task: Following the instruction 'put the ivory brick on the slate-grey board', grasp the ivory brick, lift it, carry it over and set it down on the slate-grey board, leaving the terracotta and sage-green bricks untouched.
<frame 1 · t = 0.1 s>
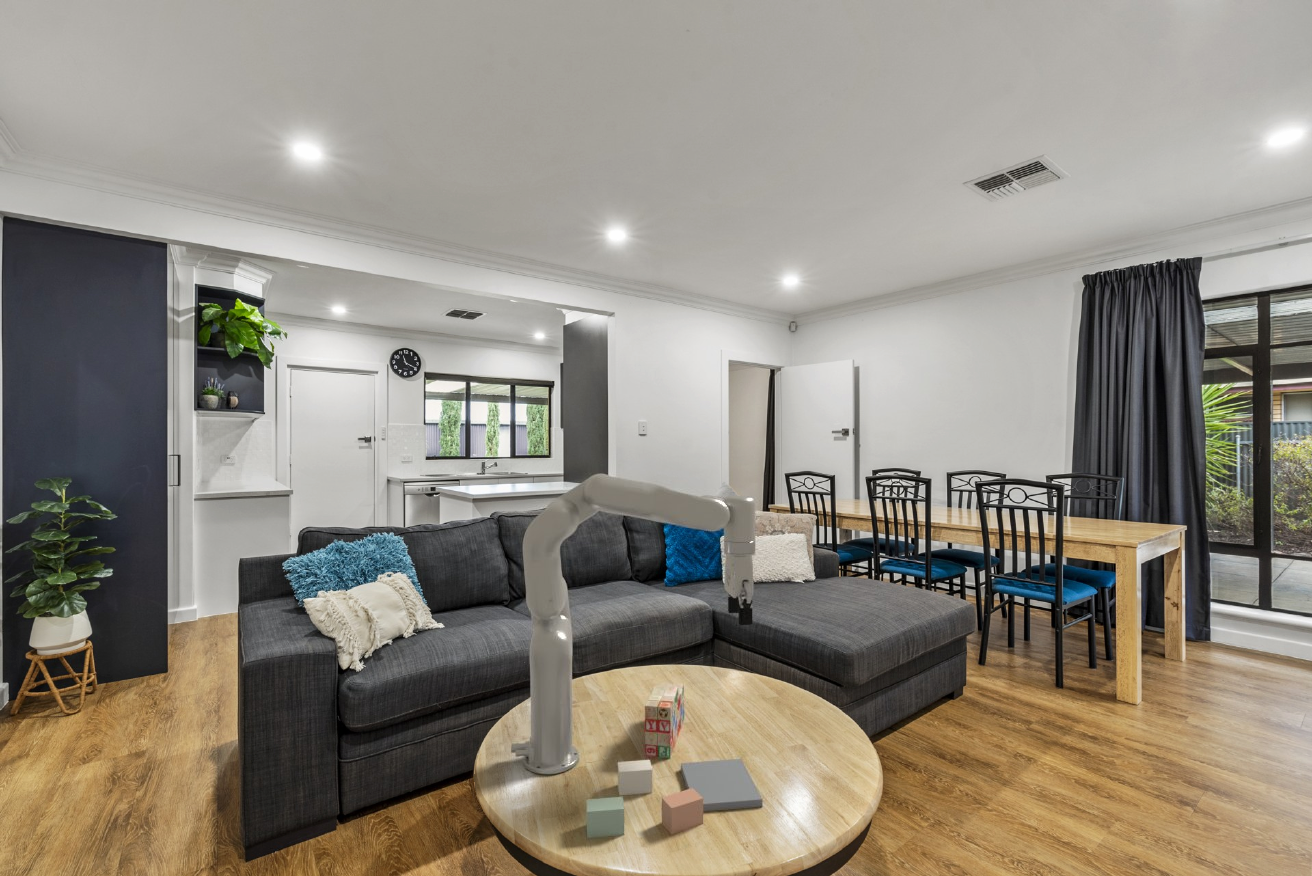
hand: (739, 618, 150), 31 cm above the table, fingers open, 9 cm apart
terracotta brick: (682, 823, 120), on the table
stack of blocks: (665, 737, 155), on the table
sage brick: (605, 830, 118), on the table
ivory brick: (634, 789, 132), on the table
slate board: (719, 787, 133), on the table
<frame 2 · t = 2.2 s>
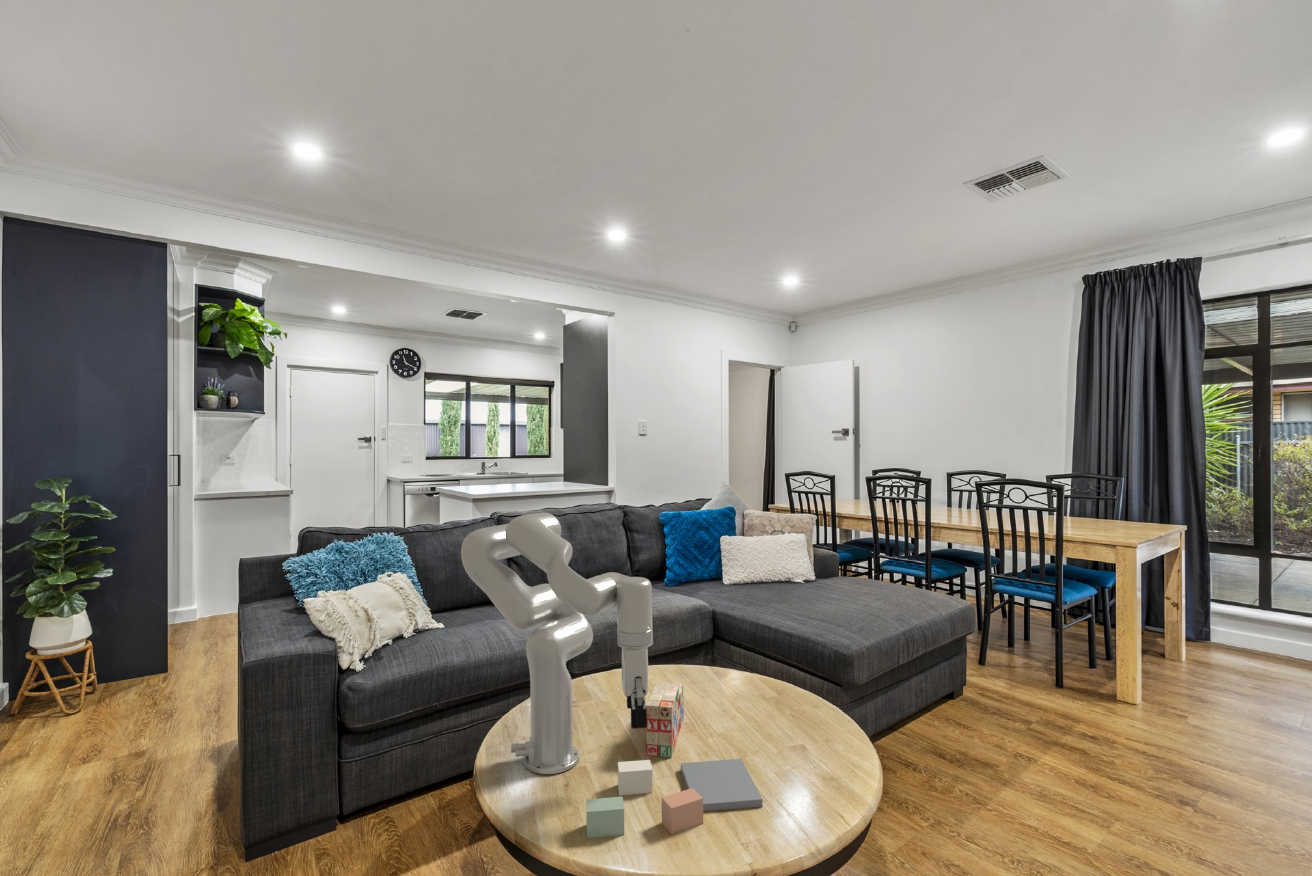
hand: (636, 717, 132), 15 cm above the table, fingers open, 9 cm apart
nothing on the table moved.
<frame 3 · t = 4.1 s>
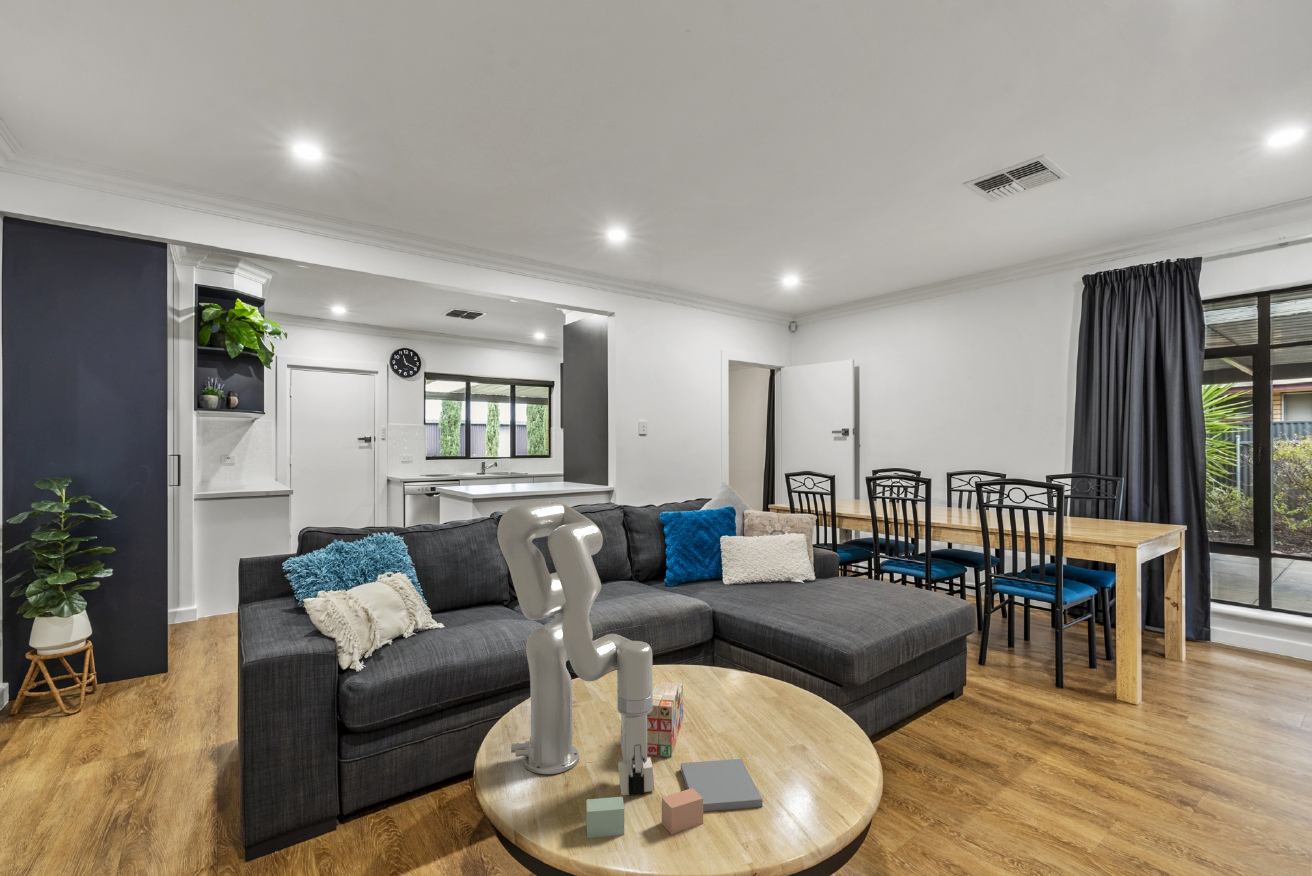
hand: (635, 787, 132), 0 cm above the table, fingers closed on ivory brick, 3 cm apart
ivory brick: (637, 787, 132), on the table, touching gripper
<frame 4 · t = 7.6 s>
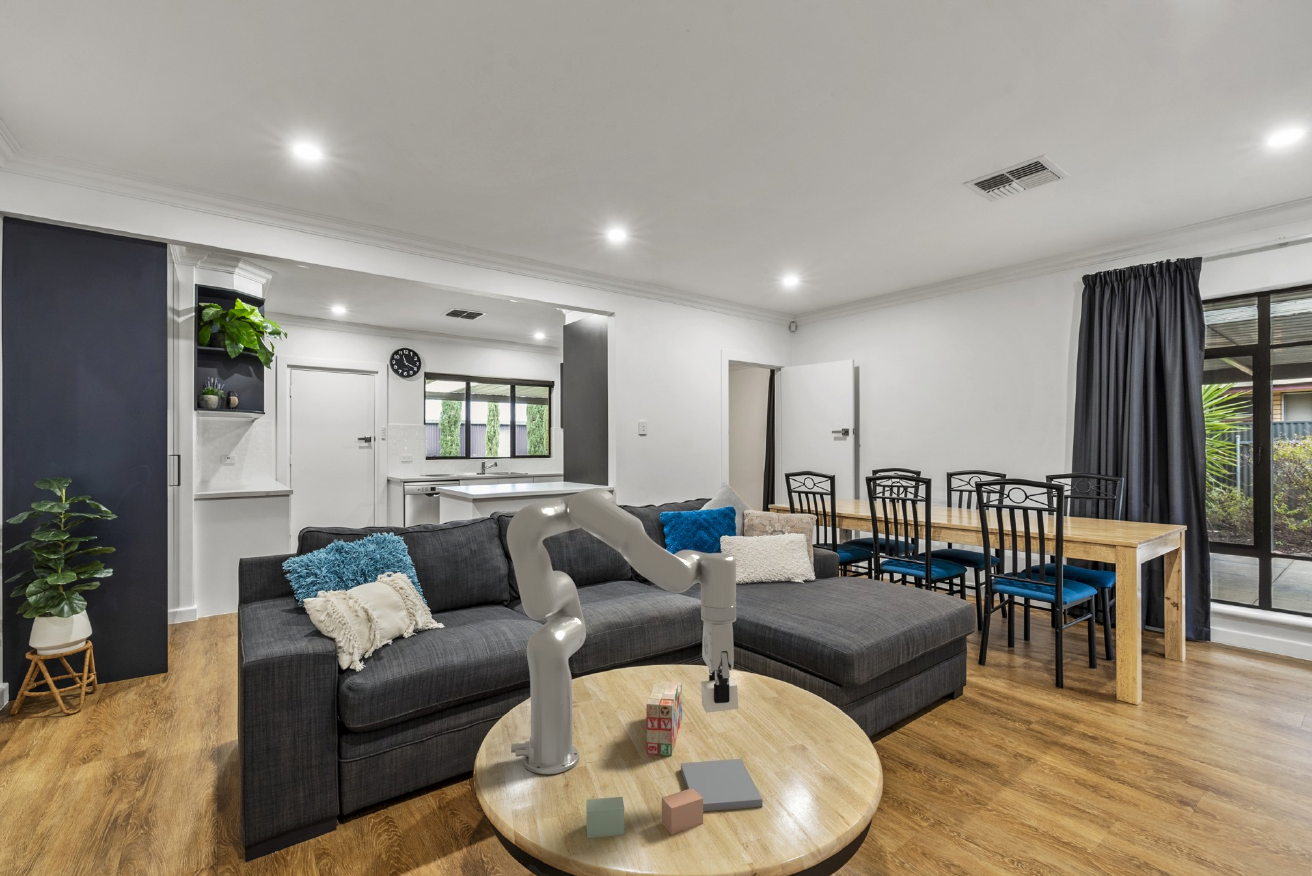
hand: (719, 696, 133), 19 cm above the table, fingers closed on ivory brick, 4 cm apart
ivory brick: (720, 706, 133), point 17 cm above the table, touching gripper
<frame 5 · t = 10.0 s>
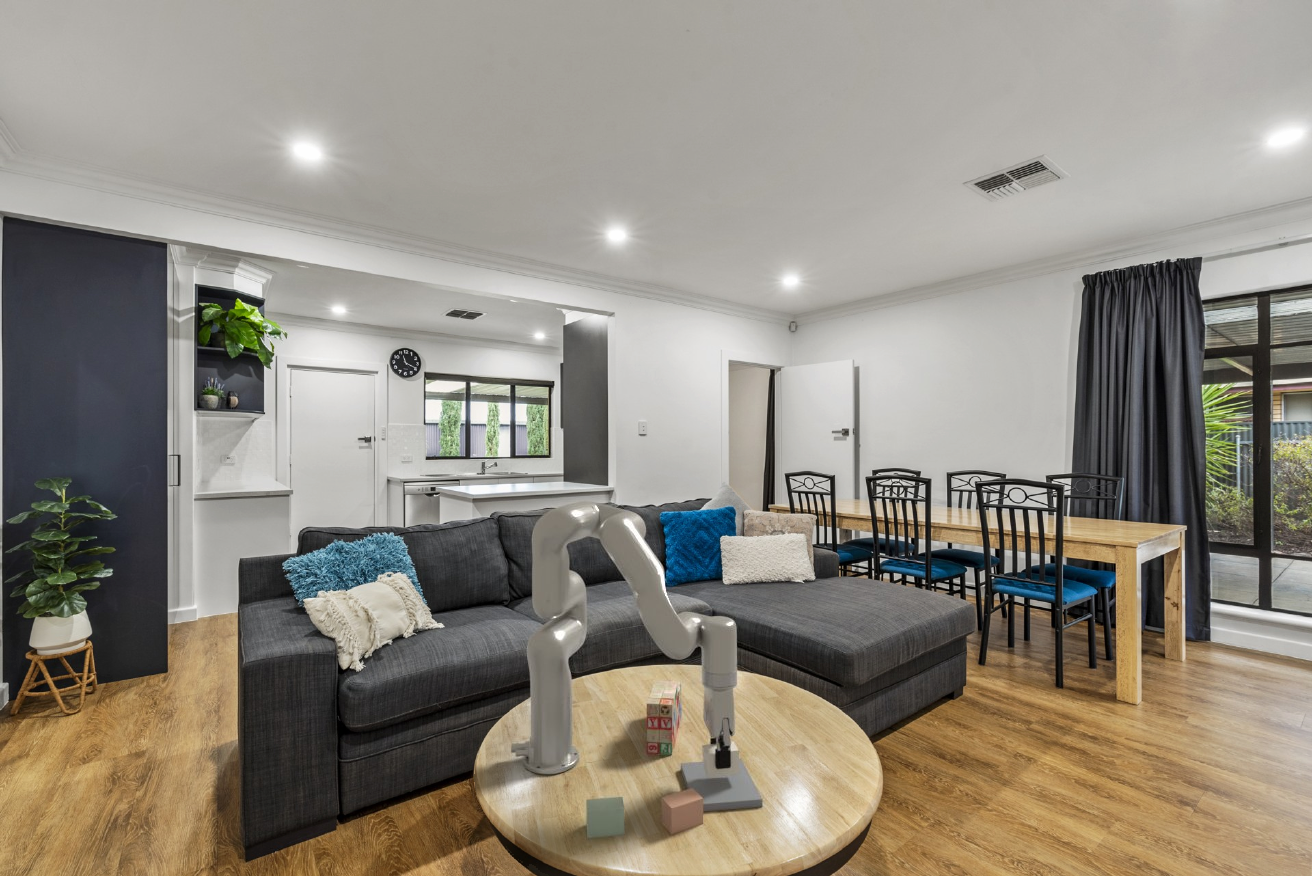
hand: (720, 761, 133), 6 cm above the table, fingers closed on ivory brick, 4 cm apart
ivory brick: (721, 770, 133), point 3 cm above the table, touching gripper
when the fingers open (4 cm above the table, at t = 11.3 s): ivory brick stays where it is, resting on slate board.
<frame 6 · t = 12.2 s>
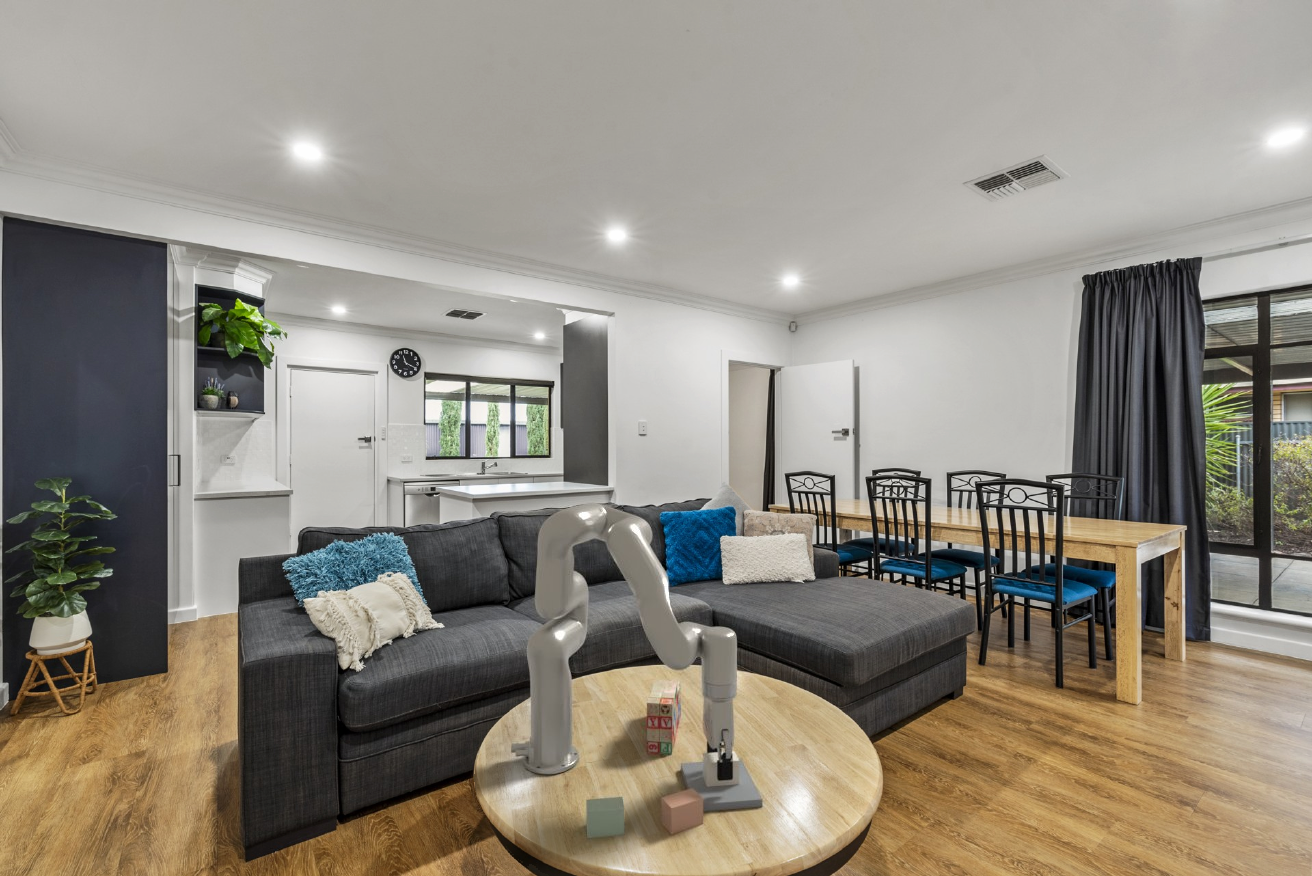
hand: (719, 767, 133), 4 cm above the table, fingers open, 9 cm apart
ivory brick: (721, 780, 133), point 1 cm above the table, touching slate board
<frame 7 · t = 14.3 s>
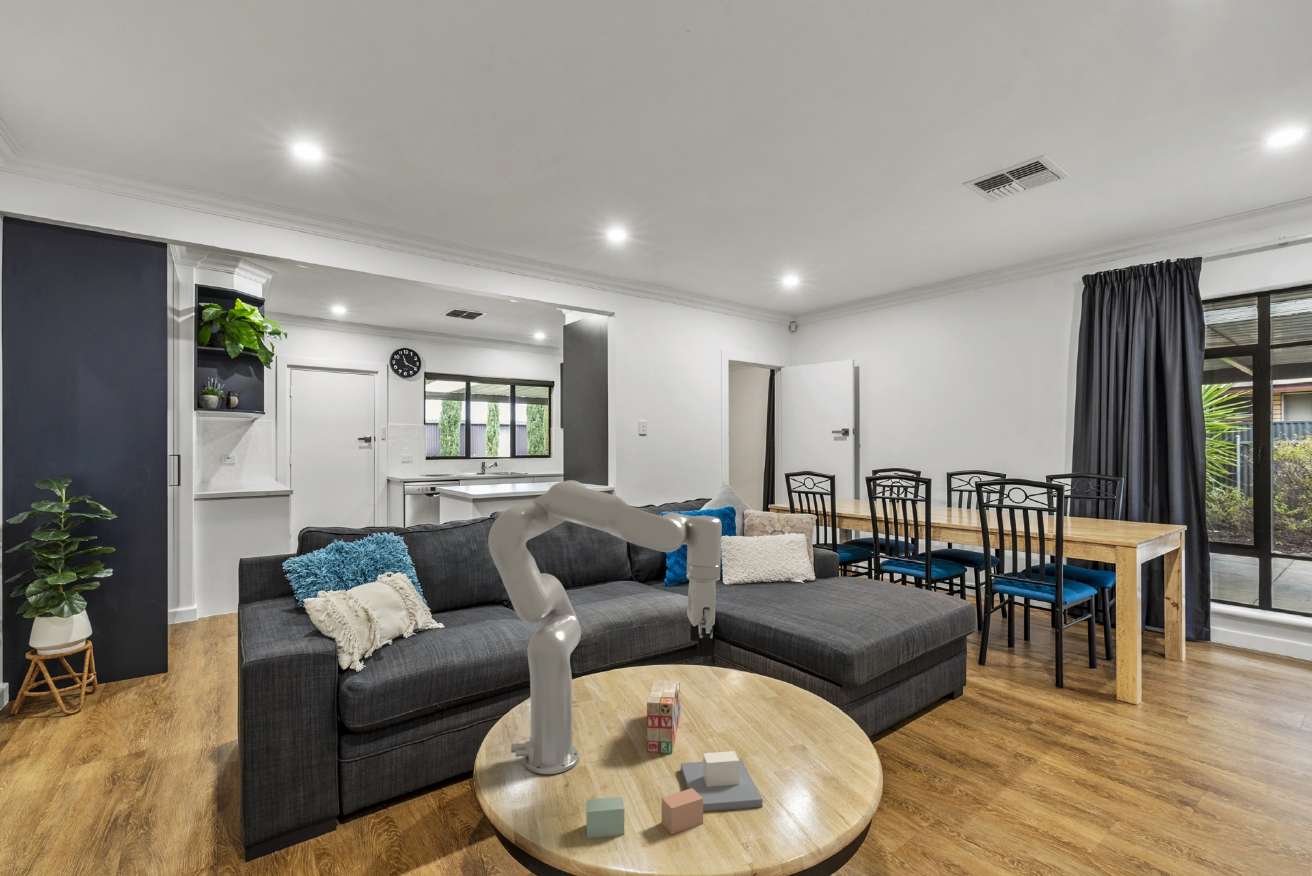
hand: (700, 647, 139), 28 cm above the table, fingers open, 9 cm apart
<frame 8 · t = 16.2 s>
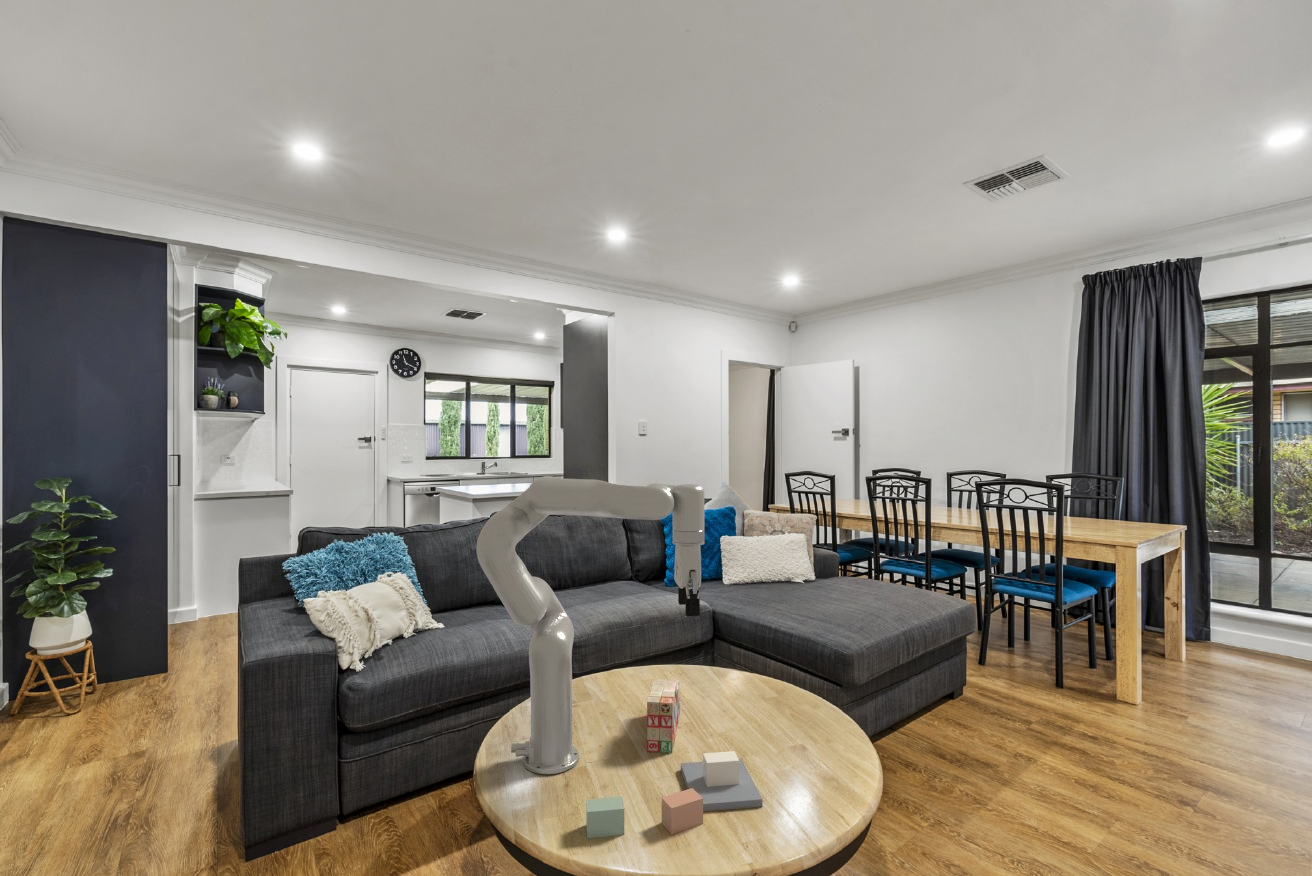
hand: (688, 609, 146), 34 cm above the table, fingers open, 9 cm apart
at the end: ivory brick inside the target area on the slate board (0.3 cm from its centre), point 1.5 cm above the slate board's base; terracotta brick moved 0.2 cm from its start; sage brick moved 0.2 cm from its start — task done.
